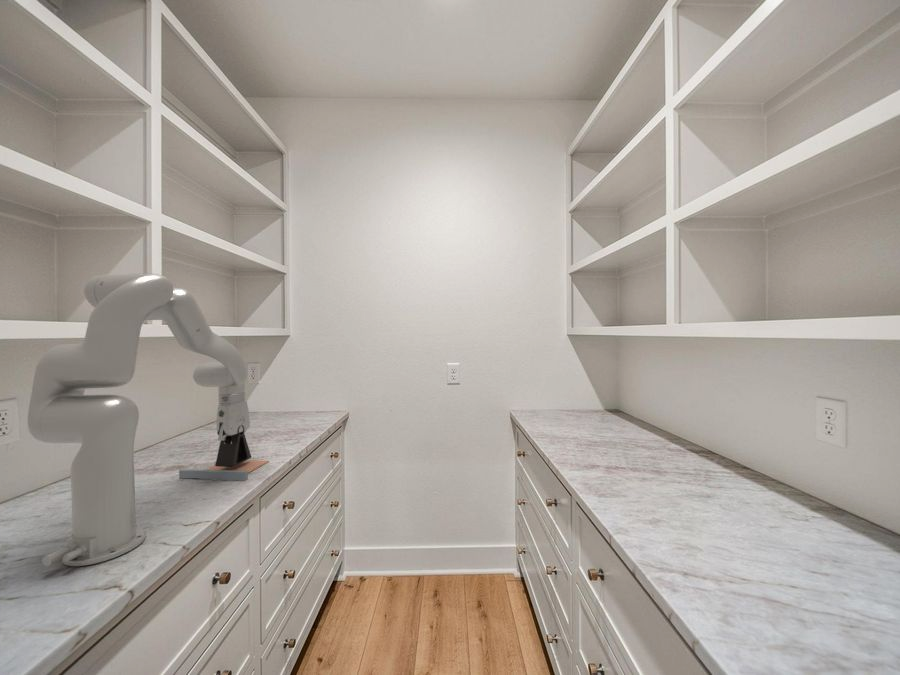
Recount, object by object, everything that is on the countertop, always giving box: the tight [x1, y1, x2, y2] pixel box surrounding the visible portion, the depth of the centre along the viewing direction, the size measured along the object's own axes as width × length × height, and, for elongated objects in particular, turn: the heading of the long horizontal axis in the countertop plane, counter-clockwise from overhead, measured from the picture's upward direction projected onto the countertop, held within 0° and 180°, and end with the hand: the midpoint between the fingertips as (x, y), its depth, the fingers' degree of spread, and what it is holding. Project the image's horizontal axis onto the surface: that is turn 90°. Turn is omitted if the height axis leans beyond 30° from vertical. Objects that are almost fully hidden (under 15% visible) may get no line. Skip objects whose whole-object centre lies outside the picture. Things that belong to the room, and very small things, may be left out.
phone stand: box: [214, 425, 252, 467], centre depth 122 cm, size 9×6×12 cm, turn 172°
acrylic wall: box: [178, 468, 249, 482], centre depth 113 cm, size 1×22×2 cm, turn 82°
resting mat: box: [204, 459, 270, 474], centre depth 122 cm, size 13×16×1 cm
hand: (233, 454), depth 122 cm, fingers closed on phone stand, 1 cm apart
